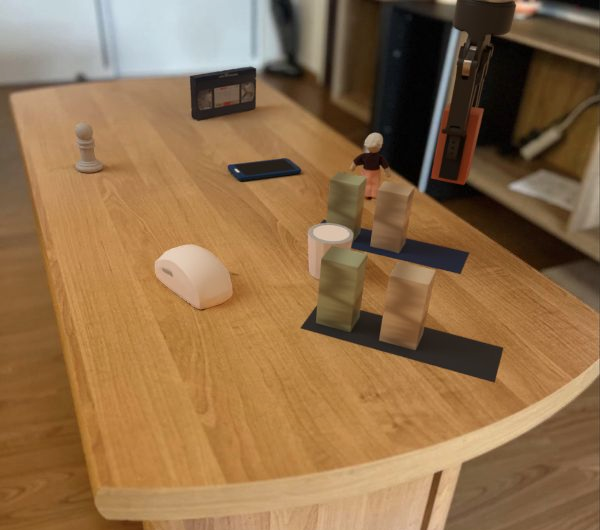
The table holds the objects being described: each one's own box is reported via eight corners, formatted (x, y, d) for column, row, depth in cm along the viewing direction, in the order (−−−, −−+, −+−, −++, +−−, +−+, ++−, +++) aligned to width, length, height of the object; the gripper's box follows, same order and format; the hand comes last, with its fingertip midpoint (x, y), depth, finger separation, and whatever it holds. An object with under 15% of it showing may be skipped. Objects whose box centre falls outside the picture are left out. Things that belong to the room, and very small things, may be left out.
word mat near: (502, 349, 84) (503, 347, 84) (493, 384, 78) (494, 382, 78) (320, 301, 91) (321, 299, 91) (299, 330, 85) (300, 328, 85)
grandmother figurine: (385, 196, 123) (395, 131, 115) (387, 204, 120) (397, 138, 112) (346, 194, 123) (353, 128, 115) (347, 202, 120) (353, 135, 112)
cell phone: (226, 168, 130) (226, 164, 129) (287, 160, 135) (288, 157, 134) (239, 181, 124) (239, 177, 124) (302, 173, 130) (302, 169, 129)
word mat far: (468, 254, 105) (469, 252, 105) (459, 276, 99) (460, 273, 99) (323, 221, 112) (323, 219, 112) (306, 239, 106) (306, 237, 106)
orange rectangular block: (468, 176, 96) (483, 108, 90) (463, 185, 93) (479, 116, 87) (436, 169, 98) (449, 103, 92) (430, 178, 95) (443, 110, 88)
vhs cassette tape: (196, 121, 153) (194, 77, 147) (190, 117, 155) (187, 74, 149) (257, 109, 163) (257, 68, 157) (250, 106, 165) (250, 65, 159)
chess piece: (97, 174, 124) (91, 128, 118) (71, 172, 124) (63, 125, 119) (107, 164, 128) (101, 119, 123) (82, 162, 128) (74, 117, 123)
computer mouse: (187, 263, 98) (184, 226, 94) (238, 299, 91) (238, 261, 87) (150, 276, 94) (147, 238, 91) (201, 315, 87) (199, 275, 83)
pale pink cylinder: (299, 279, 96) (301, 237, 92) (312, 259, 101) (315, 218, 97) (342, 288, 94) (347, 247, 90) (354, 267, 100) (359, 227, 95)
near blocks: (422, 334, 85) (436, 270, 79) (415, 350, 82) (429, 284, 76) (325, 308, 89) (331, 245, 83) (315, 323, 86) (320, 258, 80)
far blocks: (405, 243, 106) (414, 186, 100) (399, 253, 103) (408, 195, 97) (332, 226, 110) (338, 171, 104) (325, 236, 107) (329, 179, 101)
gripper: (470, -14, 88) (438, 151, 102) (444, 1, 75) (413, 187, 90) (524, -8, 86) (485, 159, 100) (508, 9, 73) (465, 198, 88)
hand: (451, 172), depth 95 cm, fingers closed on orange rectangular block, 4 cm apart
